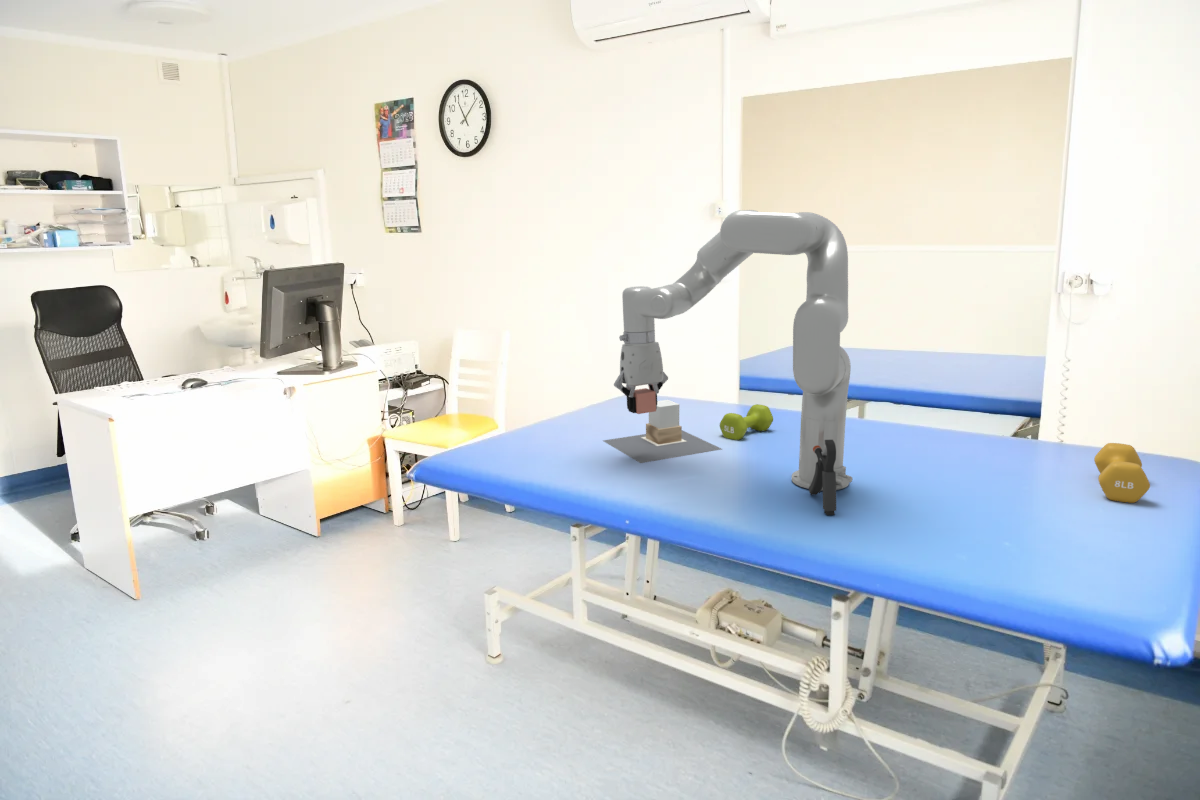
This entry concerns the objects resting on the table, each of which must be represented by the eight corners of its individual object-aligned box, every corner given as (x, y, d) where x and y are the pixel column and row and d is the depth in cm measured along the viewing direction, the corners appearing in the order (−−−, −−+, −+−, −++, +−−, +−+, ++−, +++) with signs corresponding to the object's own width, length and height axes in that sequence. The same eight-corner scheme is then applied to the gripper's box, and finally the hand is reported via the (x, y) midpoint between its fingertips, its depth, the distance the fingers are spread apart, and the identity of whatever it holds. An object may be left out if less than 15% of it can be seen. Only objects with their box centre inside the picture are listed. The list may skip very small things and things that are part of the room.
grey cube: (679, 426, 207) (679, 404, 205) (659, 429, 204) (659, 407, 203) (668, 421, 212) (668, 399, 211) (648, 423, 210) (648, 402, 208)
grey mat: (723, 450, 200) (723, 449, 199) (640, 464, 190) (640, 463, 190) (679, 430, 219) (679, 428, 219) (602, 442, 209) (602, 440, 209)
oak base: (681, 440, 207) (681, 426, 206) (658, 444, 205) (658, 429, 204) (668, 434, 214) (668, 420, 213) (646, 437, 211) (645, 423, 210)
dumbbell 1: (740, 444, 206) (741, 417, 204) (716, 438, 211) (716, 412, 209) (775, 431, 217) (776, 406, 215) (751, 426, 222) (752, 401, 220)
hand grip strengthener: (817, 494, 168) (820, 427, 165) (836, 516, 156) (840, 444, 153) (807, 494, 168) (810, 427, 165) (825, 516, 156) (829, 445, 153)
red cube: (656, 411, 192) (655, 391, 191) (638, 414, 190) (637, 394, 189) (646, 407, 196) (645, 388, 195) (628, 410, 194) (628, 390, 193)
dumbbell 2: (1091, 473, 178) (1096, 439, 176) (1139, 479, 174) (1144, 444, 172) (1095, 500, 162) (1100, 463, 160) (1147, 507, 158) (1153, 469, 156)
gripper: (615, 343, 182) (618, 418, 186) (677, 335, 189) (679, 408, 193) (601, 340, 189) (605, 412, 193) (662, 332, 196) (664, 402, 200)
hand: (642, 409), depth 193 cm, fingers closed on red cube, 5 cm apart
